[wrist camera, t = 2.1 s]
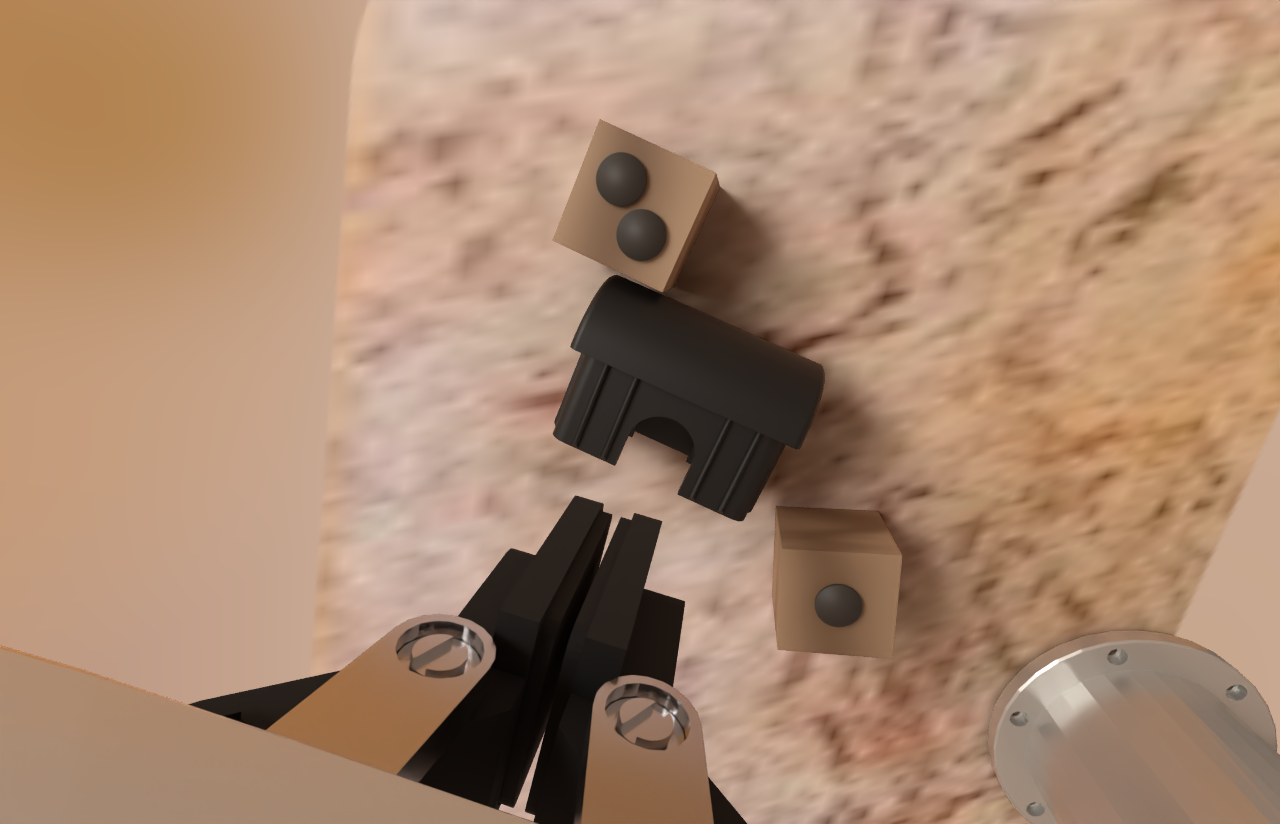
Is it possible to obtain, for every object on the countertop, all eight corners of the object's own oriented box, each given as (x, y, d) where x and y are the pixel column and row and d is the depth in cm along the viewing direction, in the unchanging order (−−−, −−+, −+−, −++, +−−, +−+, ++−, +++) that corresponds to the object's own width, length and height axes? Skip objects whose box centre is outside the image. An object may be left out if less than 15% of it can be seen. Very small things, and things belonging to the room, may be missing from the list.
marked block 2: (877, 510, 32) (903, 557, 27) (869, 600, 33) (893, 661, 28) (775, 505, 32) (782, 550, 28) (772, 593, 34) (777, 652, 29)
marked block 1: (719, 186, 29) (715, 172, 24) (674, 286, 31) (661, 292, 26) (622, 141, 29) (598, 118, 24) (581, 243, 31) (551, 240, 26)
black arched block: (816, 354, 30) (837, 381, 24) (752, 480, 32) (755, 536, 26) (626, 270, 31) (596, 274, 24) (575, 399, 33) (534, 435, 26)
